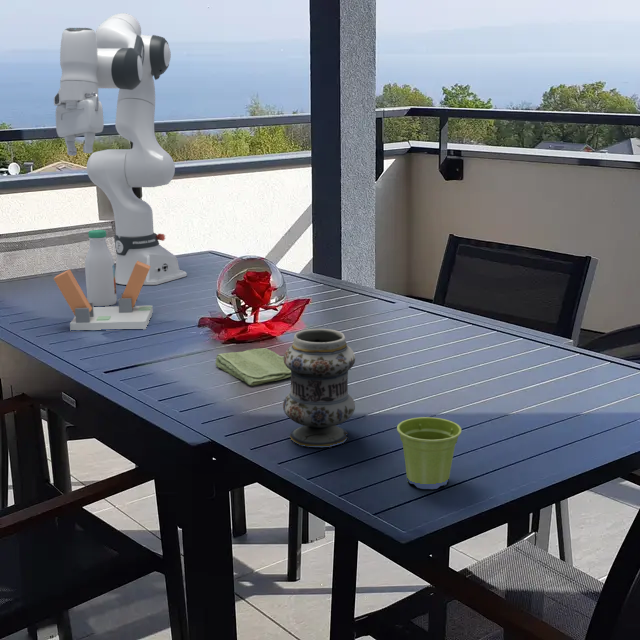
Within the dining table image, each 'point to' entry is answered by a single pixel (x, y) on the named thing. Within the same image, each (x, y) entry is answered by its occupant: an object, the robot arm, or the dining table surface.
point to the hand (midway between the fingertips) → (79, 154)
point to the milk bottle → (100, 271)
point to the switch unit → (112, 316)
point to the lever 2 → (136, 281)
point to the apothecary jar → (319, 386)
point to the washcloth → (254, 366)
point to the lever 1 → (72, 291)
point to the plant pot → (428, 448)
